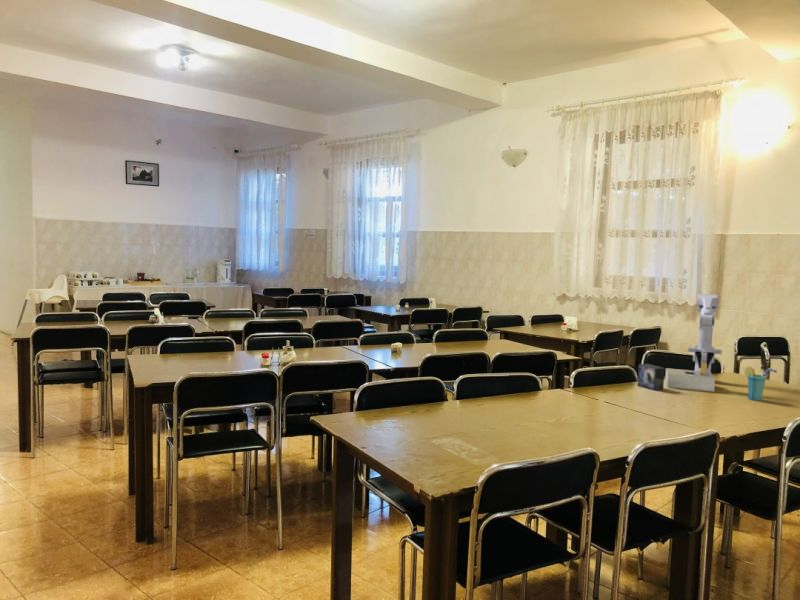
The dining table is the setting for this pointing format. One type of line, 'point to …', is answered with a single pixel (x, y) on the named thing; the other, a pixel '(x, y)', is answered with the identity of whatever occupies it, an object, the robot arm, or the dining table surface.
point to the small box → (651, 376)
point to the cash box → (689, 380)
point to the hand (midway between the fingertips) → (703, 367)
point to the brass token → (703, 368)
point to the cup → (756, 383)
